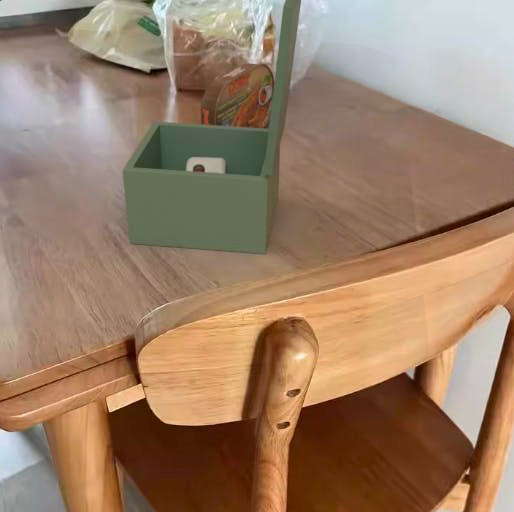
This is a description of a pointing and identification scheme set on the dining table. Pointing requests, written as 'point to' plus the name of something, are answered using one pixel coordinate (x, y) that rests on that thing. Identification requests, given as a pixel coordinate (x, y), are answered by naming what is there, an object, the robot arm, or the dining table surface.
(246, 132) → the chest
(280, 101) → the lid
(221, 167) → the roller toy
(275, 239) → the dining table surface
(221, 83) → the tin
